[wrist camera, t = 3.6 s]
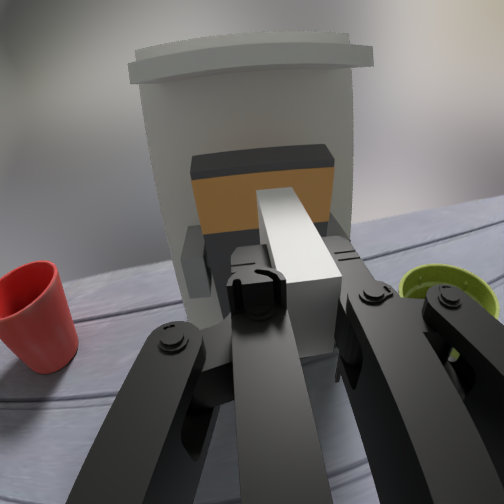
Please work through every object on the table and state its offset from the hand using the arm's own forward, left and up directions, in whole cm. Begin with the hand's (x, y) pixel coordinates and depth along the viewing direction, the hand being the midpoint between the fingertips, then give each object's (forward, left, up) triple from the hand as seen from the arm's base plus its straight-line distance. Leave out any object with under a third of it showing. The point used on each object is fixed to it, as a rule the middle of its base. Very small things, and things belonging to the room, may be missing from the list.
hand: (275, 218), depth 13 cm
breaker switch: (+2, -9, -14) cm, 17 cm away
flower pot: (+28, -3, -18) cm, 33 cm away
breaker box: (+3, -11, -18) cm, 21 cm away
